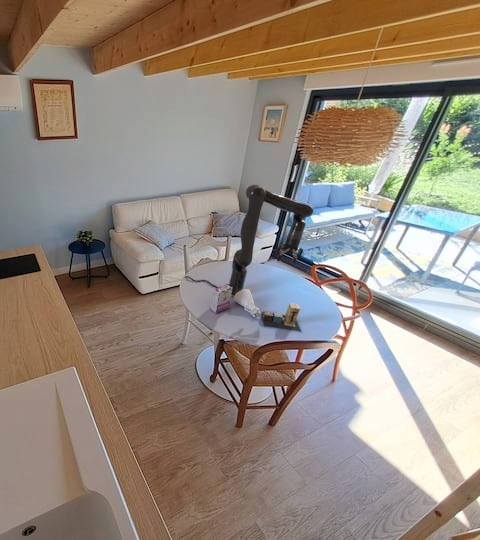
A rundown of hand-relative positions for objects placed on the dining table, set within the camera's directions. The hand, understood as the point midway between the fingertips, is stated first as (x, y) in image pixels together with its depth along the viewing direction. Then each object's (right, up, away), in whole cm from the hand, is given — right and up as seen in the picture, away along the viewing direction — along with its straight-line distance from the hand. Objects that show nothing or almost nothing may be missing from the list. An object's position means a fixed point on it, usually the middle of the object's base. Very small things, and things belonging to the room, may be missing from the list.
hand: (285, 262), depth 179 cm
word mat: (-7, -37, -5) cm, 38 cm away
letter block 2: (-8, -36, -5) cm, 37 cm away
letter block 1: (-14, -35, -4) cm, 38 cm away
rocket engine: (-23, -31, +6) cm, 39 cm away
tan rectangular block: (-1, -37, -6) cm, 37 cm away
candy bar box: (-39, -31, +6) cm, 50 cm away
